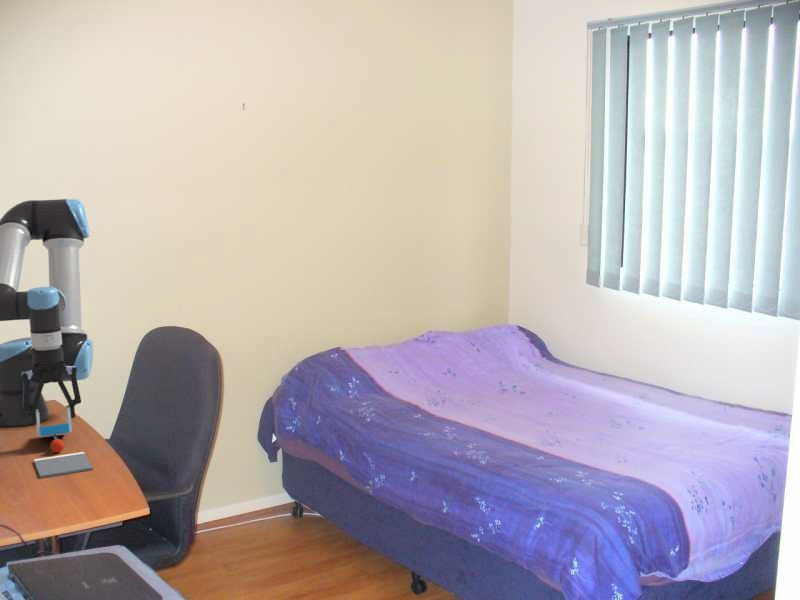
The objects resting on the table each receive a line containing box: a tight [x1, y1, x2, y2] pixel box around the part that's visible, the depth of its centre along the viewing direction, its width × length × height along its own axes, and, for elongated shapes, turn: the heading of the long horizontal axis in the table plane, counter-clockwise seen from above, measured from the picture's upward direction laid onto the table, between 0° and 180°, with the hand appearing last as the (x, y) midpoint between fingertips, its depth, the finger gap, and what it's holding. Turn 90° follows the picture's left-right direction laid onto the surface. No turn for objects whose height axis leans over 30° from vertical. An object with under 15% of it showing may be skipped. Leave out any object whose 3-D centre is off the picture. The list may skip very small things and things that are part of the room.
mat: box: [33, 451, 94, 479], centre depth 241 cm, size 14×12×1 cm
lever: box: [38, 422, 71, 453], centre depth 259 cm, size 7×7×18 cm
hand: (54, 432), depth 258 cm, fingers closed on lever, 7 cm apart
